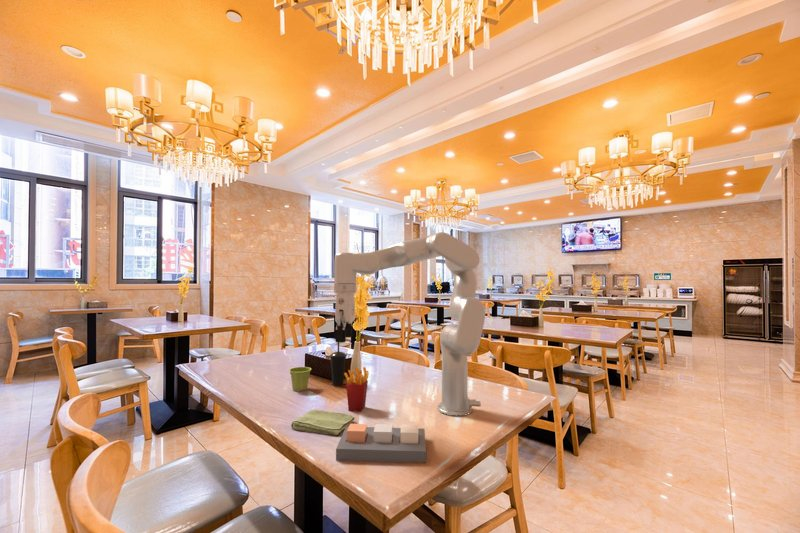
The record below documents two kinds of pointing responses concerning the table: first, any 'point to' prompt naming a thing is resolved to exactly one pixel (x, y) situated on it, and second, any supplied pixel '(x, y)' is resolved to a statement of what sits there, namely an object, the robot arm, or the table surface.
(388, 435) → the grey key
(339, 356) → the drinking cup
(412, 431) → the cream key
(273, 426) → the table surface
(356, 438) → the terracotta key
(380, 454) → the keypad base
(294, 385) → the plant pot
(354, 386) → the french fries
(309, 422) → the washcloth
